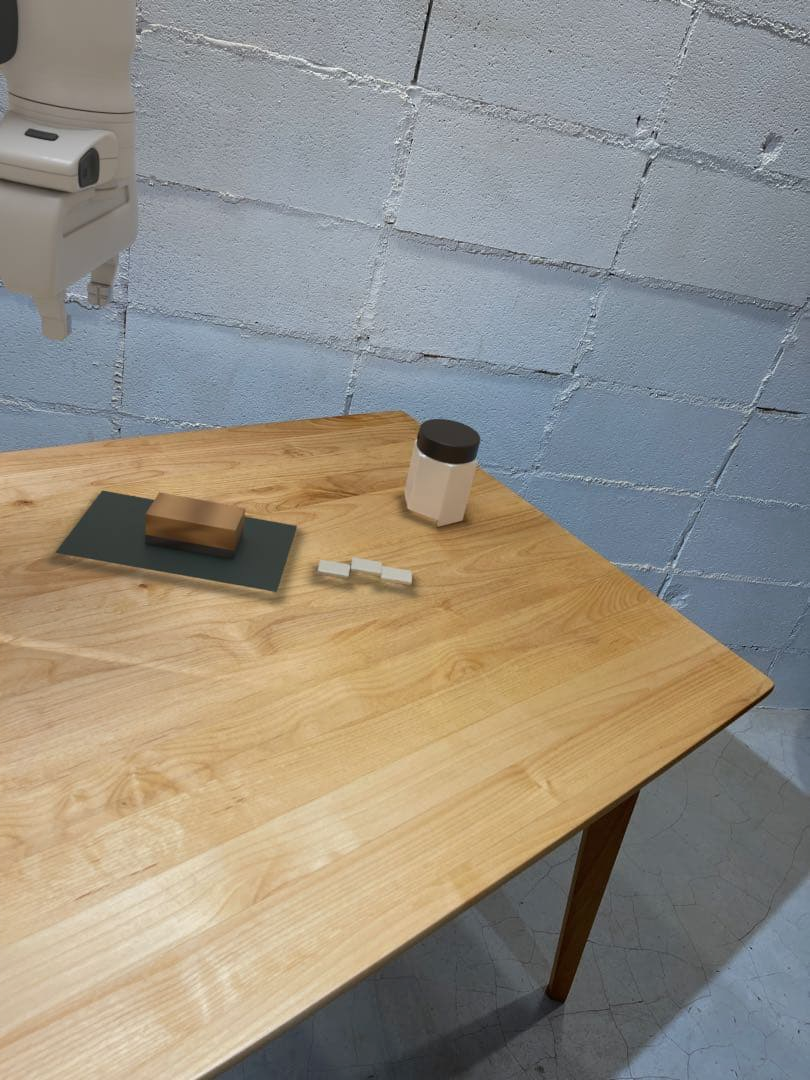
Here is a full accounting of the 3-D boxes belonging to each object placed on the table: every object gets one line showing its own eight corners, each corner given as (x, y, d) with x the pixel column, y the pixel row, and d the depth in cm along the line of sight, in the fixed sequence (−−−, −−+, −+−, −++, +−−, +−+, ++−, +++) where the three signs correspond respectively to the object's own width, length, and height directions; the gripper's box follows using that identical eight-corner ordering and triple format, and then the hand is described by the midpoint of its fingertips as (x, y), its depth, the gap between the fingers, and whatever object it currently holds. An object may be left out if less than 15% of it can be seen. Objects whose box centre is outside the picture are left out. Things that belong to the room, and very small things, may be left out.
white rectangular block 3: (411, 582, 94) (409, 593, 95) (412, 570, 96) (409, 581, 97) (381, 577, 94) (378, 588, 95) (382, 565, 96) (379, 576, 97)
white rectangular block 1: (315, 581, 93) (317, 570, 93) (318, 570, 96) (320, 559, 95) (346, 587, 94) (348, 576, 93) (348, 575, 96) (350, 564, 95)
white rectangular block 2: (348, 579, 95) (350, 568, 94) (350, 567, 97) (352, 556, 96) (379, 584, 95) (381, 573, 95) (380, 572, 97) (382, 561, 97)
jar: (438, 490, 117) (456, 414, 111) (474, 519, 112) (495, 441, 106) (389, 501, 112) (404, 422, 106) (424, 531, 107) (443, 450, 101)
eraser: (144, 543, 92) (145, 513, 89) (158, 521, 96) (159, 491, 94) (233, 559, 92) (235, 530, 90) (242, 536, 96) (245, 507, 94)
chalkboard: (55, 561, 88) (54, 552, 87) (102, 498, 100) (102, 490, 99) (275, 600, 89) (276, 591, 89) (296, 533, 101) (297, 525, 100)
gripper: (85, 121, 71) (89, 280, 78) (-34, 151, 53) (-15, 351, 61) (157, 136, 71) (154, 293, 78) (62, 170, 54) (70, 367, 61)
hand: (80, 319), depth 69 cm, fingers open, 8 cm apart
